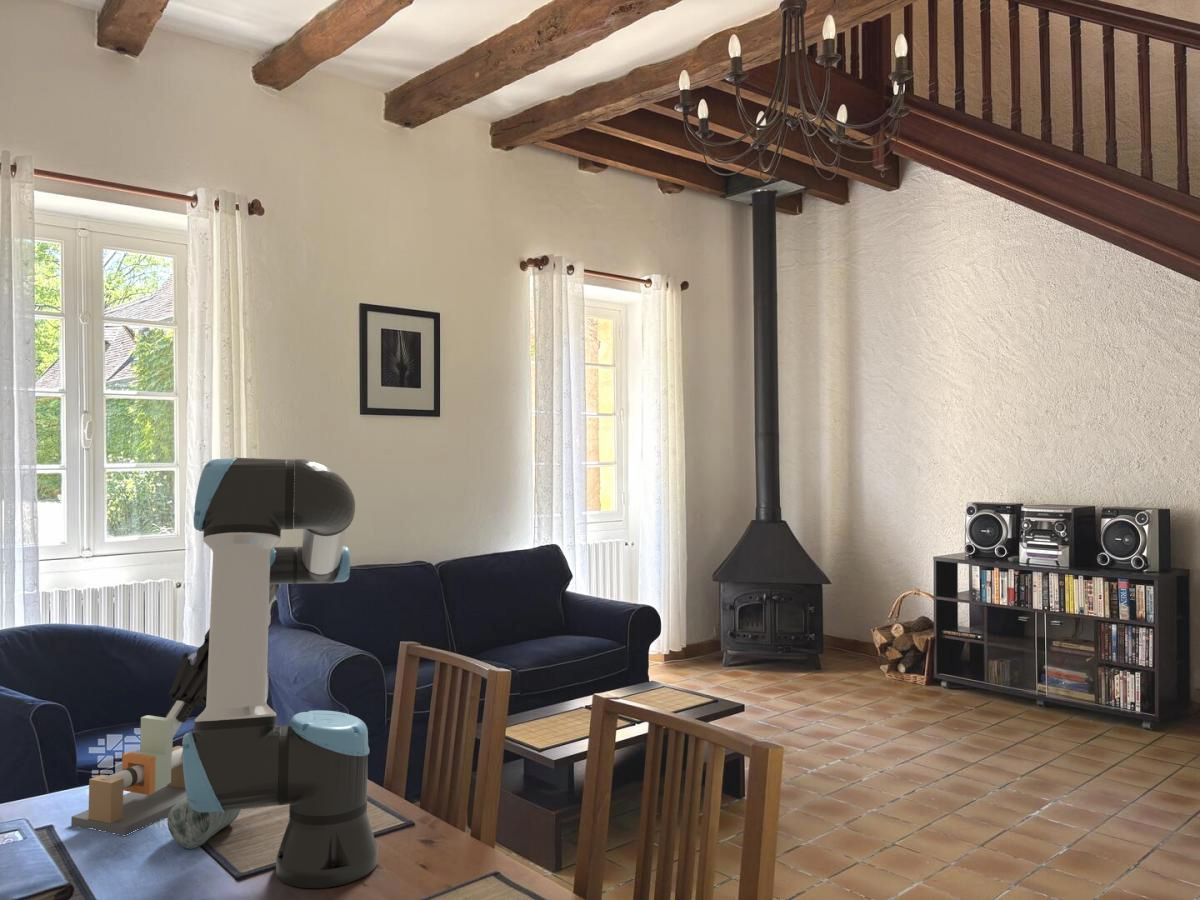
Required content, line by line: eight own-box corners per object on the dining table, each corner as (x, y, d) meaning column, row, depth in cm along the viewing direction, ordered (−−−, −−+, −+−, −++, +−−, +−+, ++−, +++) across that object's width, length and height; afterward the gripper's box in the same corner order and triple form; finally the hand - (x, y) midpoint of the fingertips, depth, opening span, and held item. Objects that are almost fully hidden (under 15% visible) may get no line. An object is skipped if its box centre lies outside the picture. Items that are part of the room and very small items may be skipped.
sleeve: (171, 782, 162) (173, 718, 162) (154, 790, 159) (155, 724, 159) (146, 778, 164) (147, 715, 164) (128, 785, 161) (129, 721, 161)
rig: (213, 794, 168) (214, 748, 168) (124, 836, 149) (126, 784, 149) (163, 786, 172) (164, 741, 172) (71, 825, 153) (72, 775, 153)
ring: (154, 792, 158) (155, 756, 159) (149, 795, 157) (150, 758, 157) (127, 787, 161) (128, 752, 161) (121, 790, 159) (122, 754, 160)
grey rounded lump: (209, 838, 141) (195, 776, 145) (159, 861, 142) (146, 799, 146) (261, 826, 154) (247, 769, 157) (215, 848, 155) (202, 791, 159)
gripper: (266, 642, 181) (202, 750, 165) (215, 637, 185) (148, 742, 169) (248, 620, 176) (180, 729, 160) (196, 616, 180) (125, 721, 164)
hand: (164, 735), depth 165 cm, fingers closed
